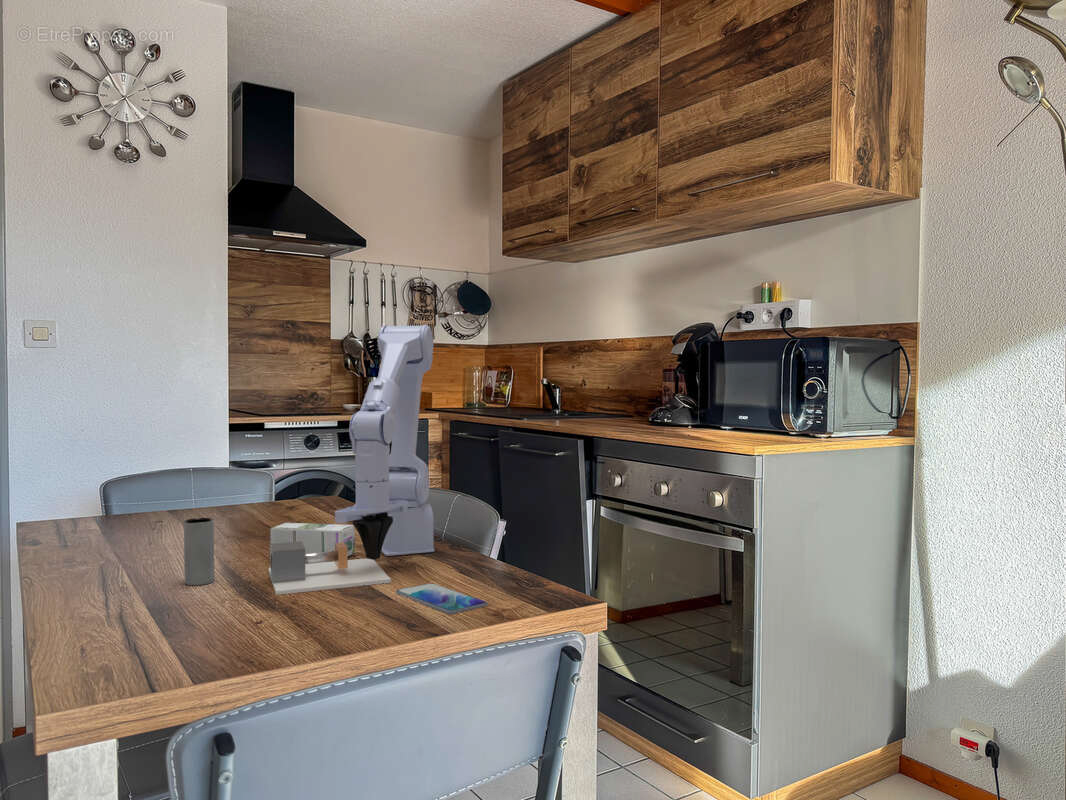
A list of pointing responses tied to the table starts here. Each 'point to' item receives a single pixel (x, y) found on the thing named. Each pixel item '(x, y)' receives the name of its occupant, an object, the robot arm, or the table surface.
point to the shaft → (330, 556)
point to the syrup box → (315, 536)
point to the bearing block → (287, 561)
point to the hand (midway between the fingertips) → (373, 558)
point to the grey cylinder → (199, 551)
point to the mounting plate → (334, 577)
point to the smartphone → (441, 598)
